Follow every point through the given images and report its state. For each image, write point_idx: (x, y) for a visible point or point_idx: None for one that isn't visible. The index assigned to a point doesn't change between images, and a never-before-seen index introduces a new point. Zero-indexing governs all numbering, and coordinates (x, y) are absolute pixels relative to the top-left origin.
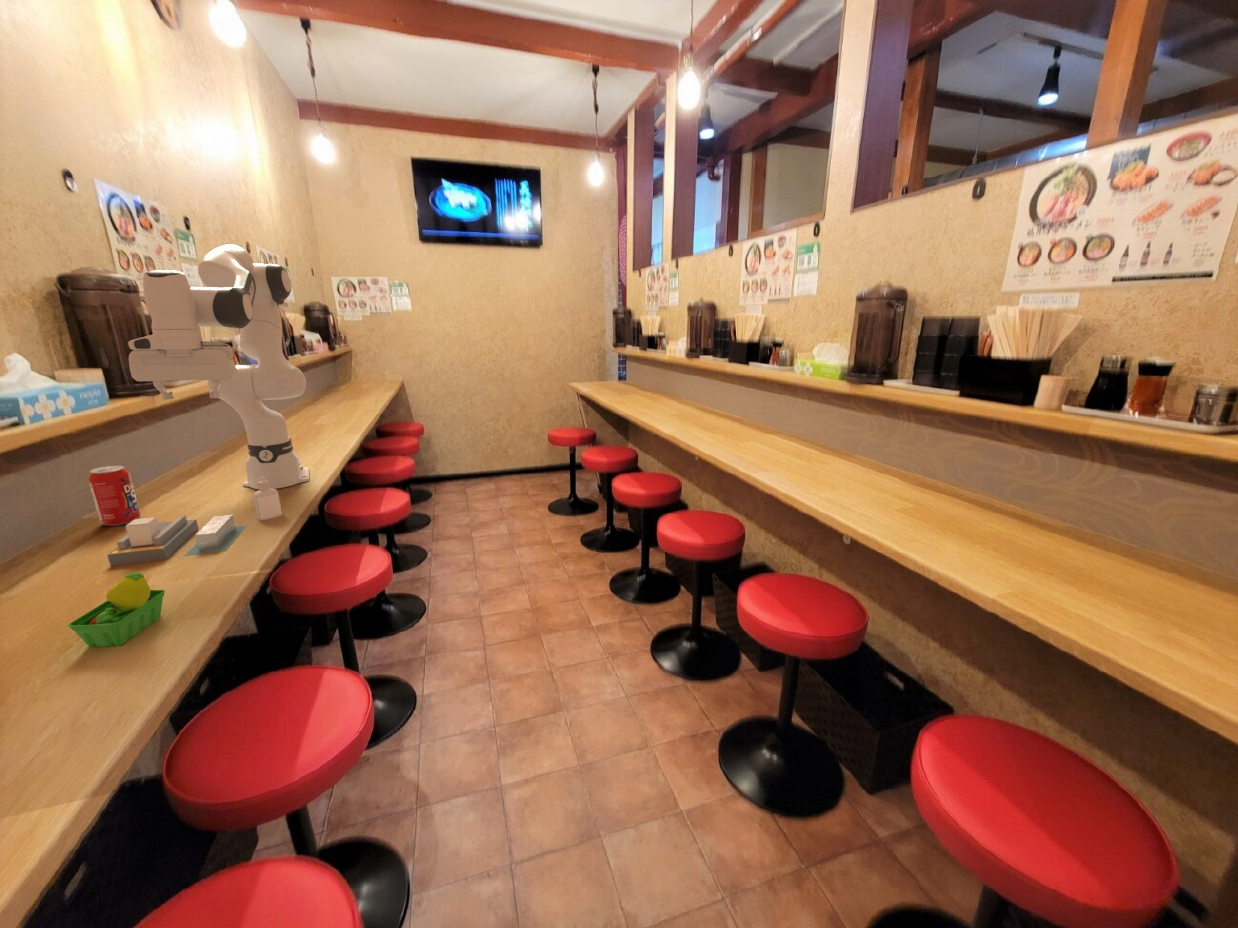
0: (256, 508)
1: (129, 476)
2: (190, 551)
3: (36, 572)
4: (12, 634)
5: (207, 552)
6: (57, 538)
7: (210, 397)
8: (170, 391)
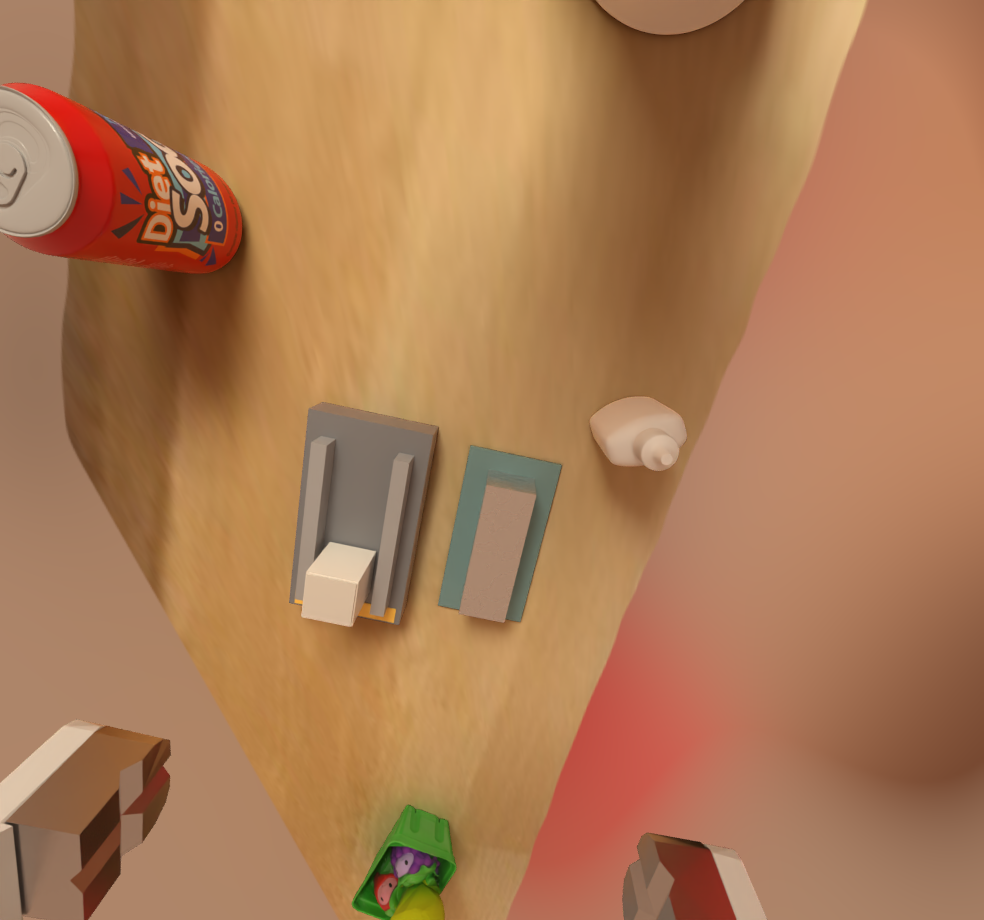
0: (599, 444)
1: (127, 183)
2: (446, 586)
3: (163, 539)
4: (259, 775)
5: None
6: (83, 301)
7: (628, 907)
8: (54, 831)
